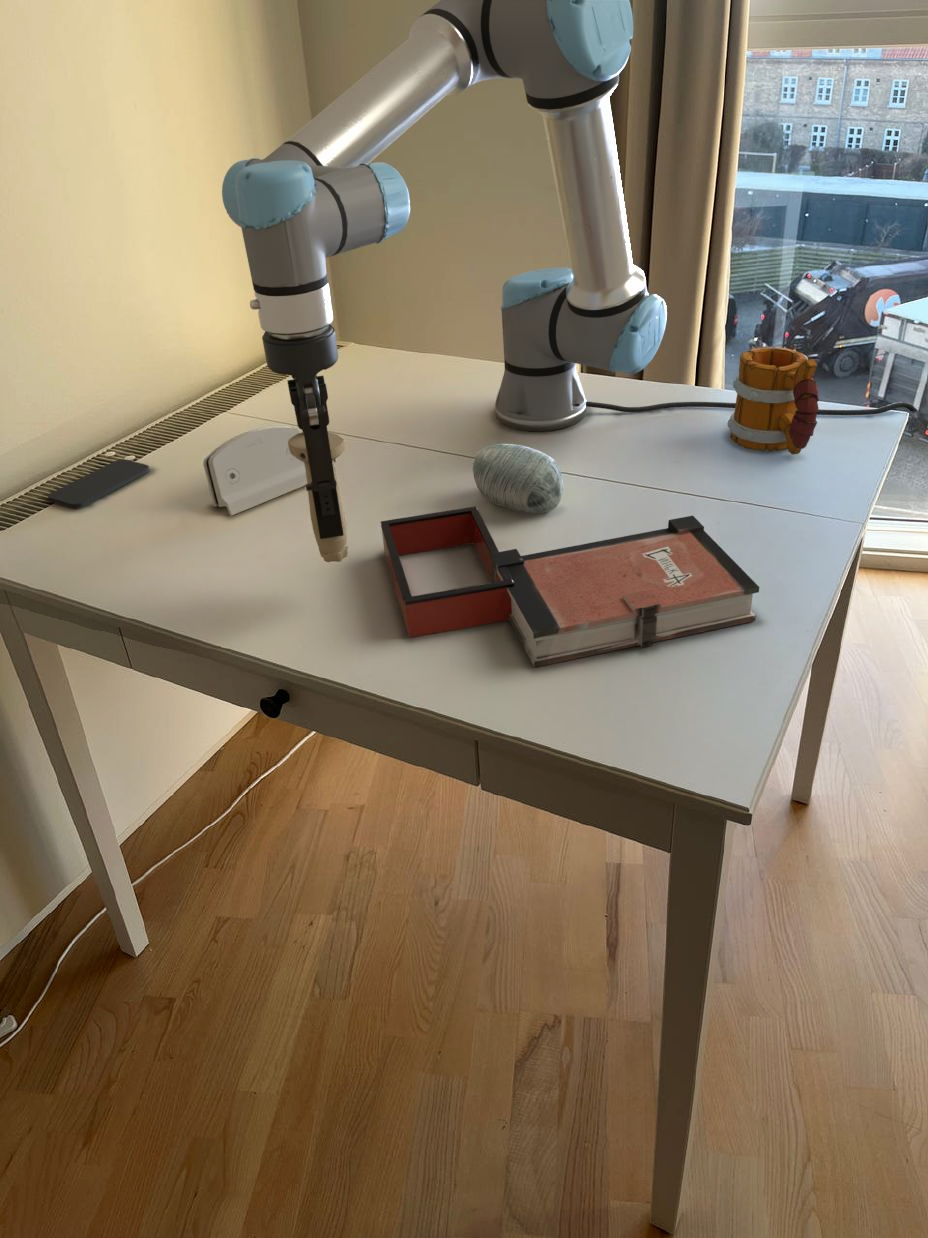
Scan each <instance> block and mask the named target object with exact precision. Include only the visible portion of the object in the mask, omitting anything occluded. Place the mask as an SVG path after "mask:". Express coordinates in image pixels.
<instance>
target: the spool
mask: <svg viewBox="0 0 928 1238" xmlns="http://www.w3.org/2000/svg"><path fill="white" fill-rule="evenodd" d="M472 474H473V480H474V482H475V486H476V488H477V490H478V492H479V493H480V494H481V496H482V497H484V498H485V500H487V501H489V502H490V503H492V504H495V505H498V506H500V507H503V508H507V509H511V510H516V511H520V512H527V513H534V514H535V513H546V512H551V511H553V510H554V509H555V508H556V507H558V505H559V504H560V502H561V501H562V498H563V494H564V481H563V474H562V472H561V469H560V467H559V465H558V463H557V462H556V460H554V459H553V457H551V456H549V455H548V454H546V453H544V452H542V451H540V450H538V449H535V448H532V447H530V446H529V447H528V446H525V445H522V444H515V443H497V444H492V445H489V446H486V447H483V448H481V450H479V451H478V452H477V453H476V455H475V456H474V459H473V463H472Z"/></svg>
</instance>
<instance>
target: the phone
mask: <svg viewBox="0 0 928 1238" xmlns="http://www.w3.org/2000/svg"><path fill="white" fill-rule="evenodd" d="M150 470H151V469H150V466H149V465H148V464H145V463H141V462H137V461H132V460H129V459H125V458H124V459H123V458H121V459H116V460H114V461H112V462H110V463H108V464H106V465H104V466H102V467H100V468H98V469H95V470H94V471H92V472H90V473H88V474H85V475H84V476H82V477H80V478H78V479H76V480H74V481H72V482H71V483H68V484H66V485H64V486H62V487H60V488H58V489H56V490H54V491H52V492H50V493H49V494H48V495H47V497H48V502H51V503H54V504H58V505H60V506H65V507H68V508H71V509H80V508H83V507H85V506H87V505H89V504H91V503H92V502H94V501H98V499H100V498H102V497H104V496H106V495H108V494H110V493H112V492H113V491H116V490H118V489H120V488H121V487H123V486H125V485H127V484H128V483H129V484H130V482H132V481H134V480H136V479H138V478H140V477H142V476H144V475H146V474H147V473H149V472H150Z"/></svg>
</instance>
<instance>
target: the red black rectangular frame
mask: <svg viewBox="0 0 928 1238" xmlns="http://www.w3.org/2000/svg"><path fill="white" fill-rule="evenodd" d="M380 528H381V535H382V542H383V551H384V556H385V559H386V564H387V566H388V570H389V574H390V577H391V580H392V583H393V587H394V590H395V594H396V597H397V600H398V603H399V607H400V610H401V614H402V617H403V621H404V625H405V628H406V631H407V634H408V637H409V638H415V637H421V636H426V635H434V634H438V633H444V632H449V631H455V630H461V629H466V628H472V627H477V626H483V625H489V624H494V623H500V622H505V621H506V622H507V621H509V614H512V605H511V597H510V596H509V594H508V591H507V588H508V587H513V586H514V582H513V579H512V577H511V575H510V573H509V571H508V569H507V567H506V566H501V567H498V571H499V573H500V575H501V577H502V579H503V581H501V579H500V578H499V576H498V574H497V572H496V579H497V582H493V583H492V574H491V556H490V554H491V553H496V552H500V551H499V548H498V547H497V545H496V543H495V541H494V538H493V537H492V534H491V533H490V531H489V529H488V527H487V525H486V523H485V521H484V519H483V516H482V515H481V513H480V511H479V509H478V508H477V506H476V505H475V506H469V507H462V508H456V509H455V508H454V509H450V510H444V511H443V510H442V511H438V512H432V513H431V512H430V513H425V514H418V515H413V516H406V517H400V518H392V519H388V520H387V519H386V520H381V521H380ZM471 544H472V545H474V548H475V551H476V552H477V554H478V556H479V558H480V560H481V561H480V562H481V563H482V565H483V567H484V569H485V571H486V574H487V576H488V579H489V580H490V582H488V583H482V584H477V585H470V586H464V587H458V588H453V589H447V590H441V591H436V592H435V591H434V592H429V593H425V594H424V593H423V594H418V595H417V594H416V595H412V593H411V590H410V586H409V583H408V580H407V577H406V574H405V570H404V568H403V564H402V562H401V559H400V556H405V555H411V554H416V553H423V552H429V551H436V550H440V549H447V548H453V547H459V546H466V545H471Z"/></svg>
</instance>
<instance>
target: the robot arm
mask: <svg viewBox="0 0 928 1238" xmlns="http://www.w3.org/2000/svg"><path fill="white" fill-rule="evenodd" d="M630 2H631V1H630V0H439V1H438V2H437V3H435V4H433V5H432V6H431V7H430V8H429V9H427V11H425V12H424V13H423V14H421V15H420V16H419V17H417V19H416V20H415V21H413V23H412V25H411V27H410V30H409V35H408V38H407V39H406V40H405V41H404V42H402V43H401V44H400V45H399V46H398V47H396V48H395V49H394V50H393V51H391V52H390V54H388V55H387V56H386V57H385V58H383V59H382V60H381V61H380V62H378V64H377V65H375V66H374V67H373V68H372V69H370V70H369V71H368V72H367V73H365V74H364V75H363V76H361V78H359V80H357V81H356V82H355V83H353V84H352V85H351V86H350V87H349V88H348V89H346V90H345V91H344V92H343V93H342V94H340V95H339V96H338V97H337V98H336V99H334V100H333V101H332V102H331V103H330V104H329V105H327V106H326V107H325V108H324V109H323V110H321V111H320V112H319V113H317V114H316V116H314V117H313V118H312V119H310V120H309V121H308V122H307V123H306V124H305V125H303V126H302V127H301V128H300V129H299V130H297V131H296V132H295V133H294V134H292V136H290V137H289V138H288V139H287V140H286V141H284V142H283V143H281V145H280V146H278V147H277V148H276V149H275V150H273V151H272V152H271V153H270V154H268V155H266V157H264V158H263V159H260V158H254V157H252V158H249V159H243V160H239V161H237V162H234V163H233V164H232V165H231V166H230V167H229V169H228V170H227V171H226V173H225V176H224V177H223V181H222V186H221V197H222V198H221V199H222V203H223V206H224V209H225V210H226V214H227V215H228V217H229V219H230V220H231V221H232V222H233V223H234V224H235V225H237V227H239V228H240V229H241V233H242V238H243V243H244V248H245V252H246V253H245V254H246V259H247V261H248V262H247V263H248V267H249V272H250V279H251V283H252V287H253V291H254V297H255V299H252V300H250V301H249V307H250V309H252V310H254V311H257V310H258V312H257V314H258V319H259V325H260V328H261V330H263V331H264V332H263V335H262V337H261V339H262V345H263V350H264V356H265V361H266V365H267V368H268V369H269V370H270V371H271V372H273V373H275V374H277V375H281V376H286V375H288V376H291V378H292V379H288V380H287V386H288V387H287V388H288V393H289V398H290V402H291V404H292V406H293V409H294V413H295V418H296V419H295V420H296V423H297V427H298V429H300V430H301V431H302V432H303V435H304V438H305V444H306V450H307V455H308V461H309V467H310V473H311V479H312V482H311V484H306V485H305V489H306V492H308V491H310V490H312V494H313V499H314V505H315V511H316V517H317V523H318V529H319V535H320V539H325V538H331V537H337V536H344V534H343V528H342V521H341V515H340V508H339V502H338V495H337V489H336V487H337V486H336V485H337V482H336V480H335V477H334V470H333V464H332V457H331V451H330V444H329V438H328V432H329V431H328V426H329V424H330V416H329V410H328V405H327V402H328V399H329V395H328V387H327V383H326V382H325V377H324V375H317V374H319V373H320V372H321V371H326V370H328V369H330V368H332V367H333V366H334V365H335V364H336V363H338V359H339V352H338V344H337V338H336V331H335V327H334V326H332V325H331V324H332V323H333V322H334V312H333V305H332V298H331V297H332V296H331V291H330V284H329V280H328V279H329V278H328V273H327V272H328V271H327V263H326V259H327V258H330V257H333V256H336V255H340V254H344V253H346V252H349V251H352V250H356V249H359V248H364V247H367V246H369V245H372V244H380V243H382V242H384V241H385V240H387V239H389V238H391V237H393V236H396V235H398V234H399V233H400V232H402V231H403V230H404V228H405V227H406V226H407V223H408V221H409V217H410V213H411V205H410V204H411V200H410V193H409V189H408V186H407V184H406V181H405V179H404V178H403V176H402V175H401V174H400V172H399V171H398V170H397V169H396V168H395V167H394V166H392V165H390V164H388V163H386V162H384V161H383V162H382V161H380V162H379V161H378V162H373V161H374V160H375V159H376V158H377V157H378V156H379V155H380V154H382V153H383V152H384V151H385V150H387V148H389V146H391V145H392V144H393V143H394V142H396V140H398V139H399V138H400V136H402V135H403V134H404V133H406V131H408V130H409V129H410V128H411V127H413V126H414V124H416V123H417V122H418V121H419V120H420V119H422V118H423V116H425V115H426V114H427V113H428V112H429V111H430V110H431V109H432V108H434V107H435V106H436V105H437V104H438V103H439V102H440V101H442V100H443V99H444V98H445V97H446V96H448V97H455V96H459V95H461V94H463V93H464V92H465V91H466V90H467V89H469V87H471V86H472V85H474V84H476V83H479V82H482V81H488V80H493V79H521V80H522V83H523V88H524V92H525V97H526V102H527V103H526V104H527V106H528V107H529V108H530V109H531V110H533V111H535V112H537V113H538V114H539V115H541V116H542V122H543V126H544V131H545V138H546V143H547V148H548V153H549V158H550V163H551V168H552V169H551V170H552V173H553V180H554V185H555V189H556V194H557V200H558V205H559V210H560V211H559V212H560V216H561V221H562V226H563V231H564V236H565V242H566V246H567V252H568V257H569V262H570V268H569V267H549V268H540V269H534V270H529V271H525V272H522V273H519V274H517V275H514V276H512V277H510V278H508V279H507V280H506V281H505V282H504V284H503V285H502V289H501V306H500V311H501V323H502V340H503V341H502V342H503V343H502V344H503V361H504V363H503V364H504V372H503V376H502V379H501V382H500V387H499V388H498V391H497V394H496V398H495V399H496V400H495V403H494V404H495V405H494V407H495V408H494V410H495V418H496V420H497V421H498V422H499V423H500V424H501V425H504V426H505V427H508V428H511V429H515V430H519V431H527V432H547V431H555V430H561V429H565V428H569V427H571V426H573V425H576V424H578V423H579V422H581V421H582V420H583V419H585V417H586V415H587V408H595V409H604V410H611V411H616V412H622V413H644V412H652V411H657V410H663V409H671V408H673V409H674V408H720V409H722V408H725V409H735V405H736V402H722V401H674V402H664V403H657V404H652V405H645V406H623V405H618V404H617V405H616V404H612V403H604V402H595V401H589V400H587V399H586V396H585V393H584V390H583V387H582V383H581V380H580V376H579V375H578V372H577V368H576V364H577V365H581V366H586V367H590V368H595V369H598V370H599V369H601V370H605V371H610V372H611V373H615V374H616V373H621V374H622V373H624V374H629V375H632V374H637V373H639V372H641V371H642V370H644V369H645V368H646V367H648V365H649V364H650V363H651V361H652V360H653V359H654V357H655V355H656V354H657V352H658V350H659V348H660V346H661V342H662V340H663V337H664V334H665V330H666V325H667V316H668V312H667V305H666V302H665V300H664V298H662V297H661V296H659V295H658V294H656V293H649V292H648V287H647V280H646V276H645V272H644V270H642V269H641V268H640V267H639V266H637V265H635V264H633V257H632V250H631V243H630V237H629V229H628V222H627V214H626V208H625V207H626V206H625V201H624V193H623V187H622V180H621V173H620V165H619V159H618V151H617V144H616V136H615V129H614V122H613V115H612V108H611V107H612V106H611V101H610V100H611V99H610V96H612V93H614V90H615V89H616V88H617V86H618V85H619V82H620V73H621V72H622V70H623V69H624V68H625V66H626V64H627V63H628V60H629V57H630V55H631V50H632V45H631V43H630V40H632V39H633V37H634V20H633V19H634V18H633V12H632V5H631V3H630ZM900 408H905V409H907V410H909V411H910V412H912V413H915V412H916V413H917V412H918V409H917V407H916V406H914V405H913V404H911V402H906V401H897V402H894V403H891V404H887V405H885V406H882V407H877V408H867V409H821V408H818V409H819V412H818V413H817V414H816V416H868V415H869V416H871V415H879V414H883V413H888V412H890V411H892V410H895V409H900ZM336 459H337V458H336ZM336 459H334V463H336V461H337V460H336Z"/></svg>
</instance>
